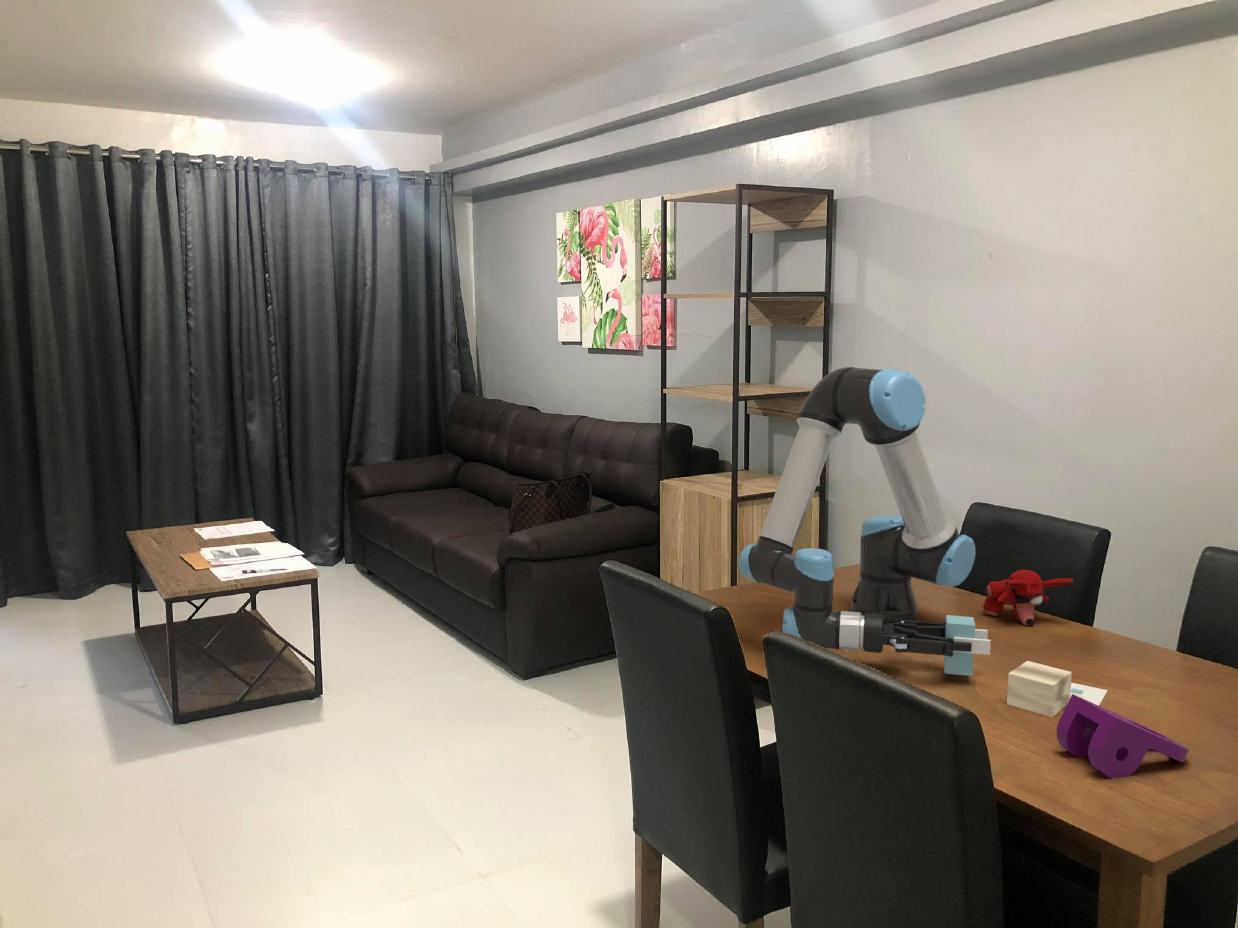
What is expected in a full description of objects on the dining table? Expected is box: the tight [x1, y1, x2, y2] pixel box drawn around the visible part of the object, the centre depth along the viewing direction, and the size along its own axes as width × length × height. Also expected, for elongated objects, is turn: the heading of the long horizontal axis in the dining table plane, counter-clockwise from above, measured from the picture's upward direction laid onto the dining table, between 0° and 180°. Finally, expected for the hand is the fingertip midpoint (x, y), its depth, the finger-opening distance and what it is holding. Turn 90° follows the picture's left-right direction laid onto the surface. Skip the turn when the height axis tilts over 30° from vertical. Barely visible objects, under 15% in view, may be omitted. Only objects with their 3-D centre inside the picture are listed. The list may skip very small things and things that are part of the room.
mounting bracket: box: [1056, 694, 1190, 779], centre depth 155 cm, size 10×9×19 cm
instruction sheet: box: [1070, 682, 1108, 706], centre depth 181 cm, size 12×9×1 cm
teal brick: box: [943, 614, 976, 677], centre depth 187 cm, size 5×5×10 cm
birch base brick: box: [1006, 660, 1073, 718], centre depth 176 cm, size 8×8×6 cm
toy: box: [982, 569, 1074, 627], centre depth 223 cm, size 16×12×16 cm
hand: (988, 642), depth 186 cm, fingers closed on teal brick, 5 cm apart
